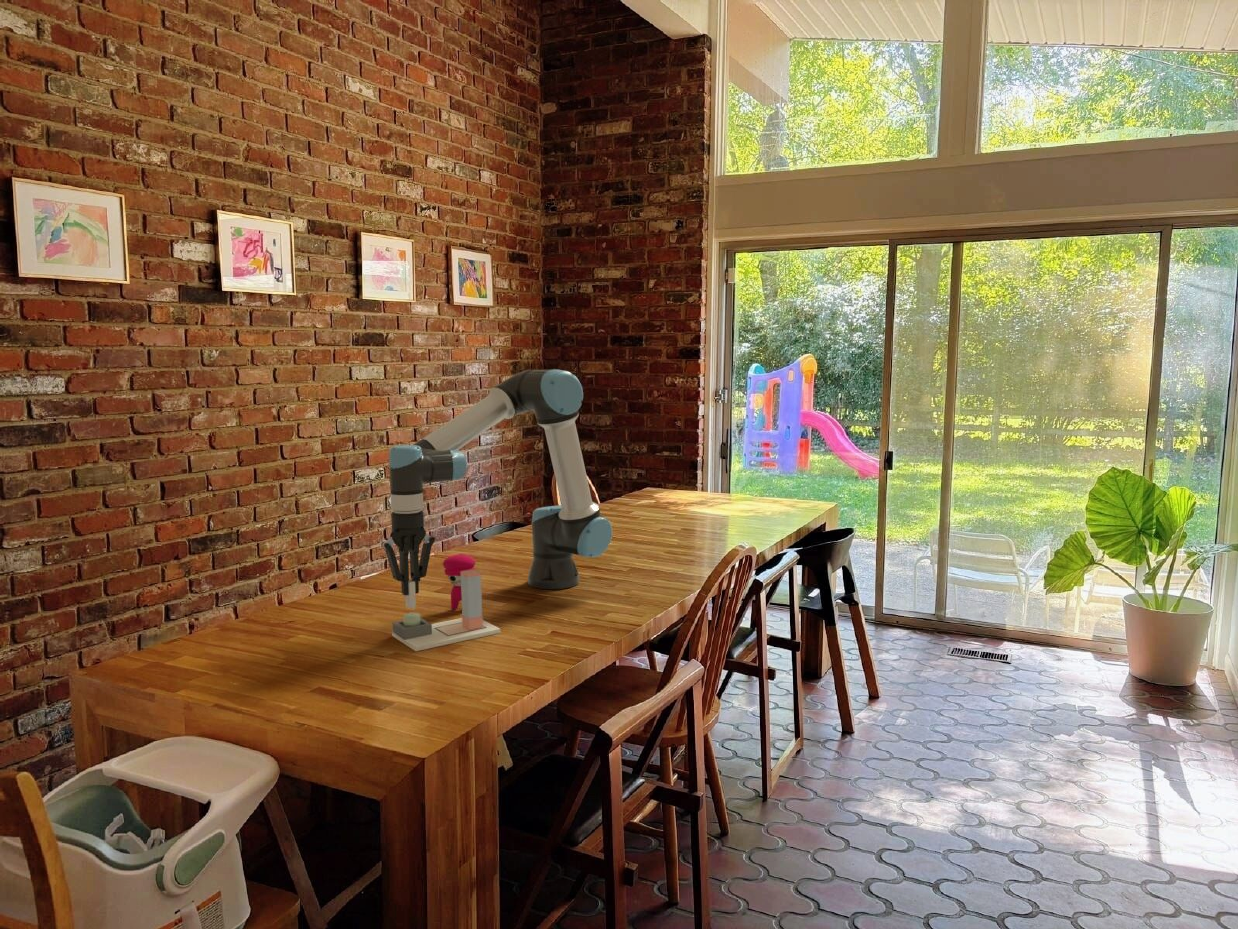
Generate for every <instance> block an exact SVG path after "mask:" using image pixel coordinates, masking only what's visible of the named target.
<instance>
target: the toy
mask: <svg viewBox="0 0 1238 929" xmlns="http://www.w3.org/2000/svg"><path fill="white" fill-rule="evenodd" d="M475 565H476V560H475V558H473V557H472V556H470V555H467V554H453V555H450V556H448V557H446V558H445V559H444V560H443V562H442V566H443V567H444V574H445V575H446V576H447V580H448V581H449V583H450V584H451V585H453V587H452V588H451V591H450V608H451V610H457V609H458V608H459V603H460V602H462V593H461V572H460V571H466V570H472V569H475V568H474V567H475Z"/></svg>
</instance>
